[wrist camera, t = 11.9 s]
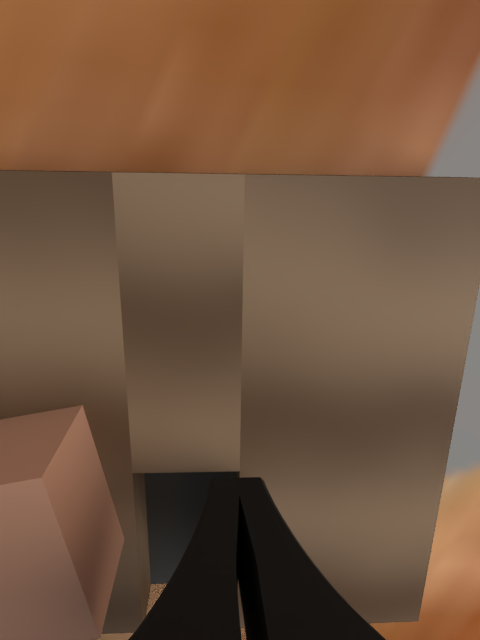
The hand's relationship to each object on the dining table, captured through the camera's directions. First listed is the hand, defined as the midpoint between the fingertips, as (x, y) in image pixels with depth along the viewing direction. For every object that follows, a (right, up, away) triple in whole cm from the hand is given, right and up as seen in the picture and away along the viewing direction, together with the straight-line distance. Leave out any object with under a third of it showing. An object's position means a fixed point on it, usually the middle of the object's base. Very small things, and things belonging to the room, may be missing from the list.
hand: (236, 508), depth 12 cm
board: (-7, +2, +2) cm, 7 cm away
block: (-6, 0, +1) cm, 6 cm away
